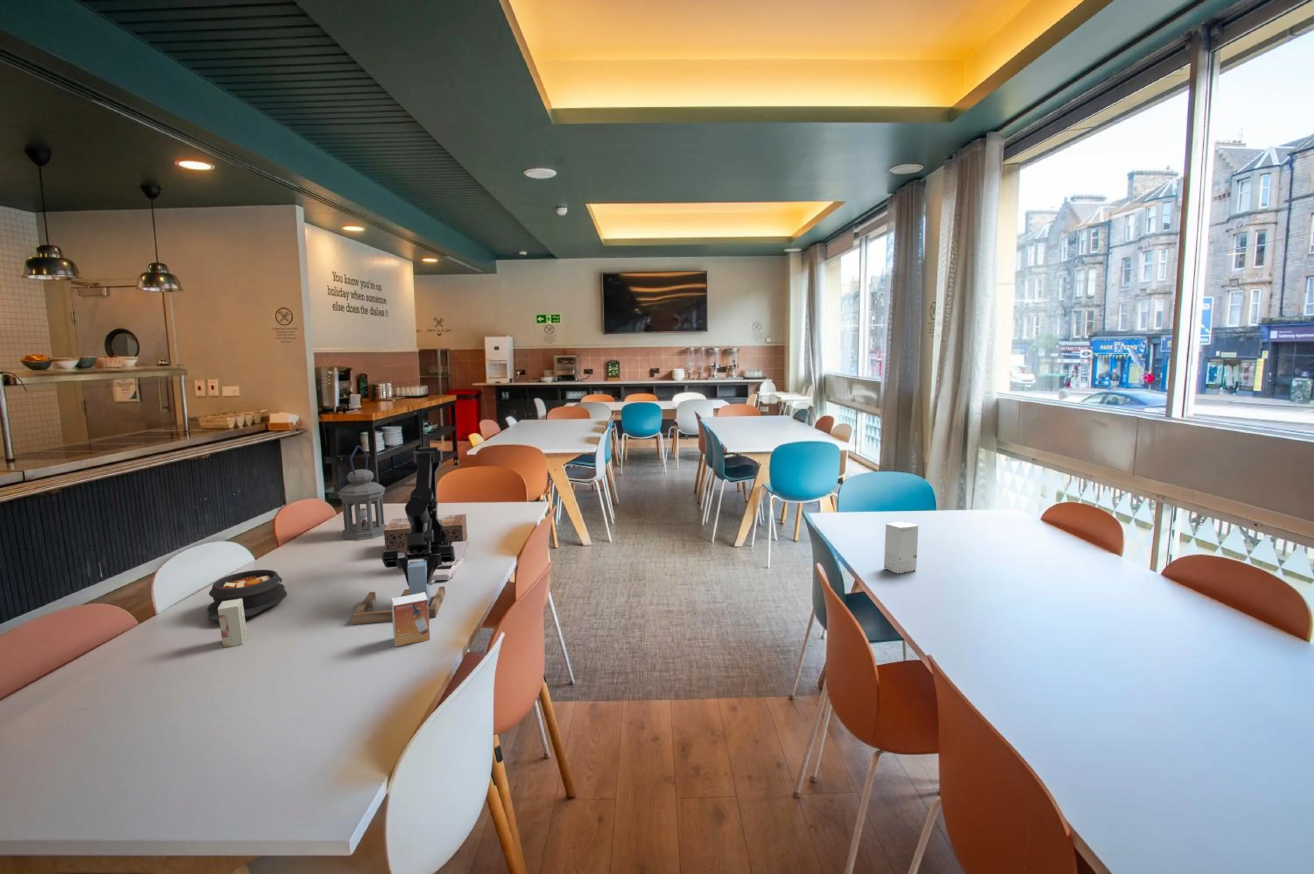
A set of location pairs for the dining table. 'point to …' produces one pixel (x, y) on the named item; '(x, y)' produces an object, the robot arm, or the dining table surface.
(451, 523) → the tissue box cover
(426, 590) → the pale blue tall block
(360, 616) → the comb rack
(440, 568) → the mobile phone
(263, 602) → the casserole
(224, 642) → the skincare box
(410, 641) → the small box
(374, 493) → the lantern
